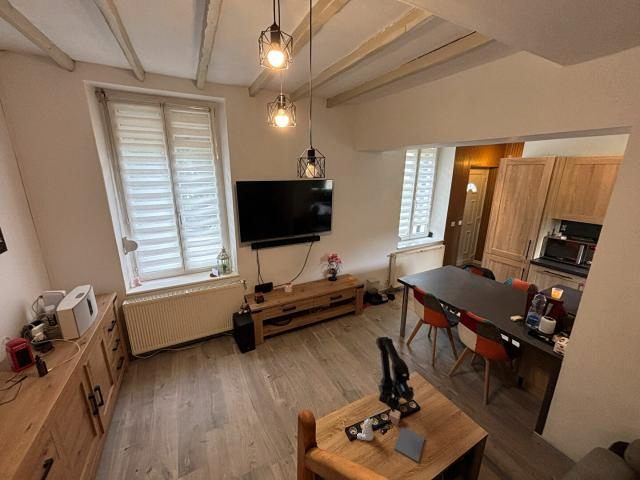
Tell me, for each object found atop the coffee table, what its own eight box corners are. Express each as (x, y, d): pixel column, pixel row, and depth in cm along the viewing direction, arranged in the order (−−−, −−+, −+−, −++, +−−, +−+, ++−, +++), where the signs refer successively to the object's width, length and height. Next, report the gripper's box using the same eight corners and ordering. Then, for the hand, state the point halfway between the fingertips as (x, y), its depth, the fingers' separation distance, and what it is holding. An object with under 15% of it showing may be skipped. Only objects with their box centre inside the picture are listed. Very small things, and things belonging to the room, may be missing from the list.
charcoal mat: (394, 449, 136) (394, 447, 135) (401, 427, 147) (402, 426, 147) (418, 463, 129) (418, 461, 129) (424, 439, 141) (424, 437, 140)
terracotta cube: (388, 421, 150) (389, 414, 149) (391, 414, 155) (392, 408, 153) (397, 425, 148) (397, 419, 146) (399, 418, 152) (400, 412, 150)
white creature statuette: (362, 424, 149) (363, 407, 145) (377, 433, 144) (378, 416, 141) (354, 437, 141) (355, 420, 138) (369, 447, 137) (370, 430, 133)
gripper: (408, 402, 132) (405, 426, 137) (417, 378, 147) (414, 400, 152) (386, 392, 138) (384, 415, 142) (397, 369, 153) (395, 391, 157)
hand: (395, 405), depth 148 cm, fingers open, 9 cm apart
